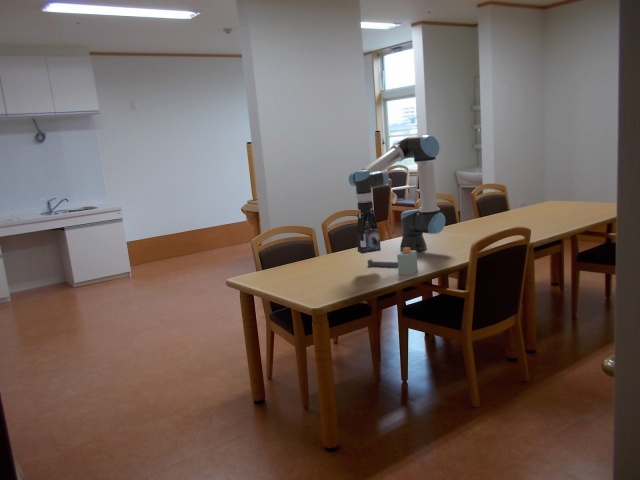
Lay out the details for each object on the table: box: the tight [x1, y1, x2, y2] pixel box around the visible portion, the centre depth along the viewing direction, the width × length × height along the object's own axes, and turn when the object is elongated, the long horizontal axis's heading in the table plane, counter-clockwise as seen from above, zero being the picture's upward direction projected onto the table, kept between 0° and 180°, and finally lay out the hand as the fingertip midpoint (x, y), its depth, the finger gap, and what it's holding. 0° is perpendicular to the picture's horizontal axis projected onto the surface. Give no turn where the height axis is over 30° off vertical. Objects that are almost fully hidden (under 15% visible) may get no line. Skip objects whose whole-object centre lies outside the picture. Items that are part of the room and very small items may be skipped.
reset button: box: [402, 247, 411, 254], centre depth 265 cm, size 4×4×5 cm
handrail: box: [367, 258, 398, 268], centre depth 283 cm, size 2×23×3 cm, turn 59°
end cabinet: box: [396, 250, 419, 276], centre depth 266 cm, size 10×6×10 cm, turn 149°
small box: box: [356, 229, 382, 254], centre depth 275 cm, size 11×6×10 cm, turn 105°
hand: (368, 244), depth 275 cm, fingers closed on small box, 11 cm apart
